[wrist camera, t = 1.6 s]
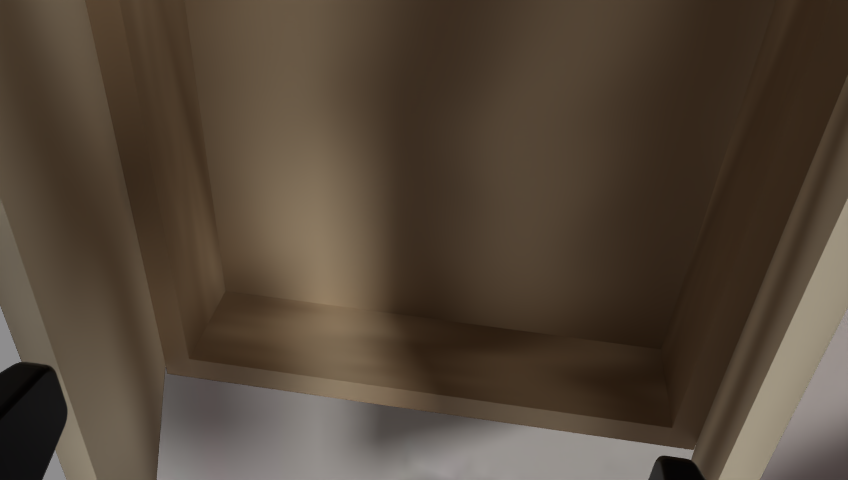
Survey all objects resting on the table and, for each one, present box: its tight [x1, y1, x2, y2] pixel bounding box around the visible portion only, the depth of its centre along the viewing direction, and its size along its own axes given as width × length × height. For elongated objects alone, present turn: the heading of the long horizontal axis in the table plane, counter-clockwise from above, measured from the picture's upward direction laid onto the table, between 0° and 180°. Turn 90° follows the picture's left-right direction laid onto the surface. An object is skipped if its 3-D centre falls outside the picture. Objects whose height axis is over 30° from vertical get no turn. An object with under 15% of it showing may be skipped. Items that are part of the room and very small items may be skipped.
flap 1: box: [0, 0, 165, 480], centre depth 15 cm, size 8×19×1 cm
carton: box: [85, 0, 848, 450], centre depth 19 cm, size 16×20×4 cm
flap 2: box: [691, 75, 848, 480], centre depth 13 cm, size 8×19×1 cm
